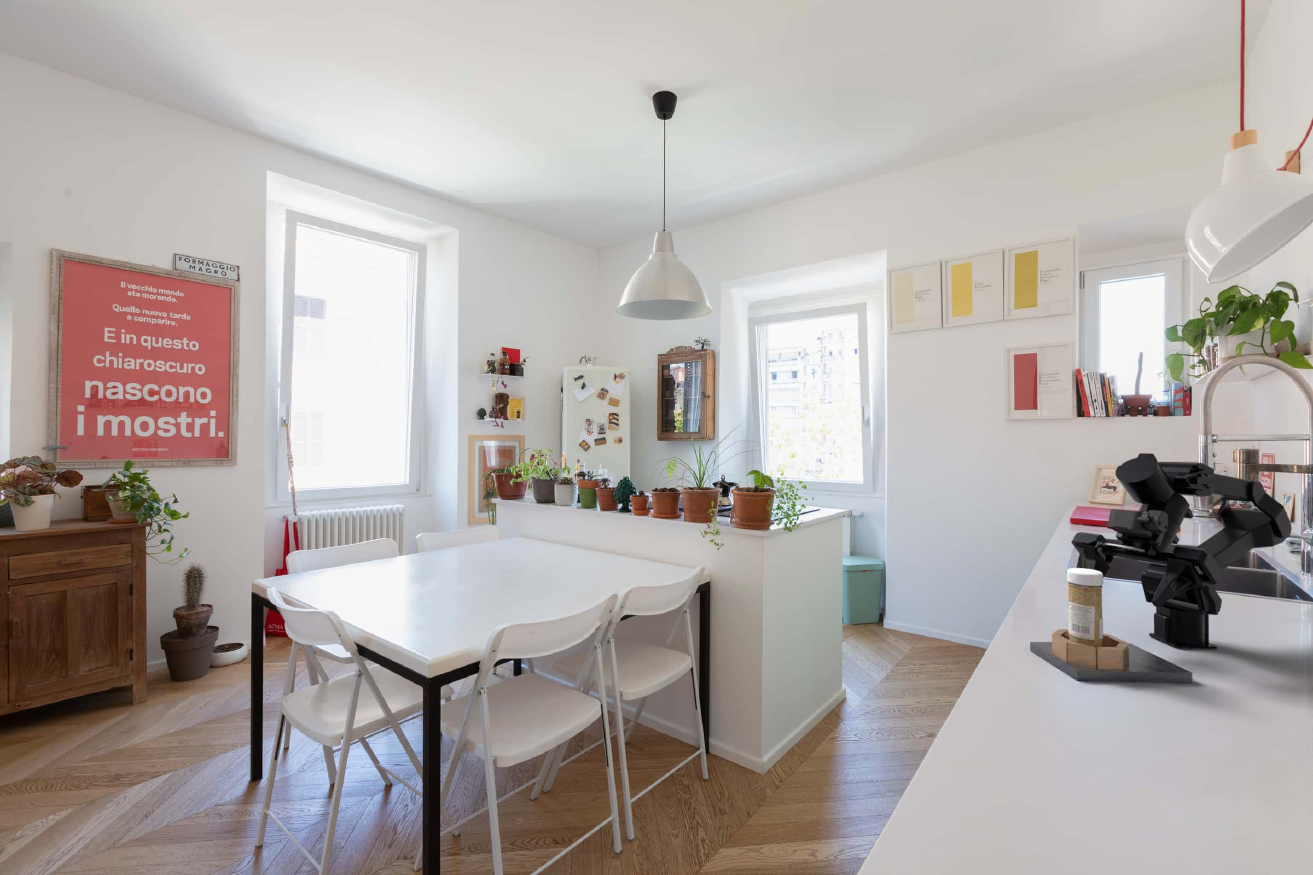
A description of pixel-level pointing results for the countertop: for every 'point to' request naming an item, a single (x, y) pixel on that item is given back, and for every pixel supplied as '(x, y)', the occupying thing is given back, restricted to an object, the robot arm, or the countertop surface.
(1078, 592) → the sprinkles bottle
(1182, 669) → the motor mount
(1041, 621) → the countertop surface
